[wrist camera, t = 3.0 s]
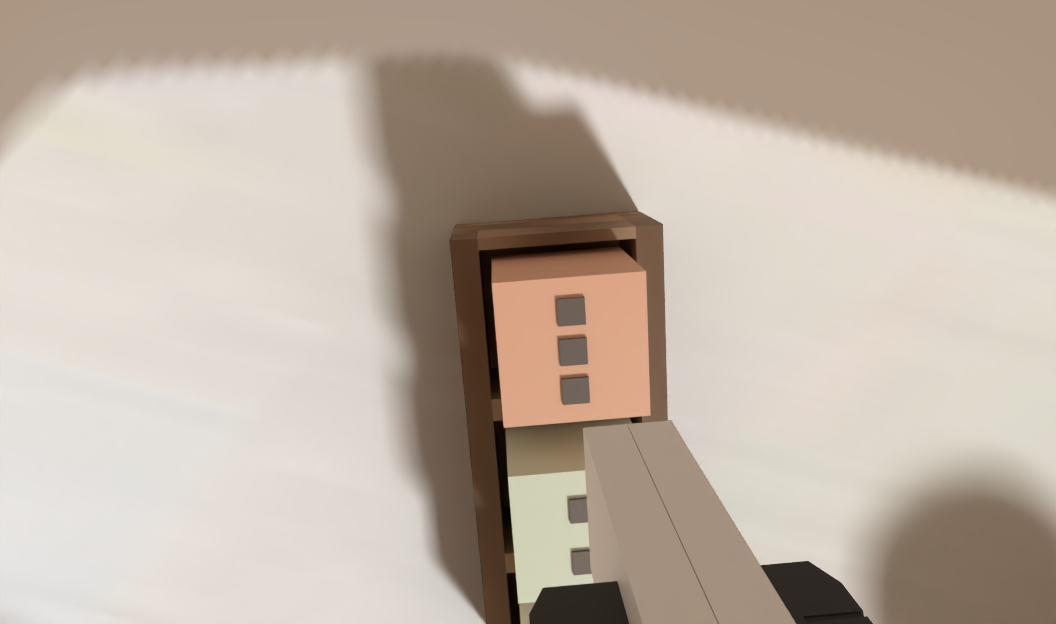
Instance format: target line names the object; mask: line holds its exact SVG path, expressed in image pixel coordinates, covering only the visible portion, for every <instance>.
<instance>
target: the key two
mask: <svg viewBox="0 0 1056 624" xmlns="http://www.w3.org/2000/svg"><path fill="white" fill-rule="evenodd" d="M622 424H632V422H631V420H630V418H629V417H628V418H616V419H604V420H592V421H580V422H568V423H556V424H544V425H532V426H520V427H508V428H505V429H506V450H507V471H508V485H509V497H510V509H511V521H512V533H513V545H514V558H515V570H516V582H517V594H518V604H520V603H531V602H536V600H537V598H538V596H539V594H540V592H541V590H542V588H545V587H557V586H568V585H579V584H590V583H594V581H593V577H592V572H591V567H590V549H589V531H588V512H587V494H586V476H585V457H584V439H583V428H586V427H598V426H610V425H622Z"/></svg>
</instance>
